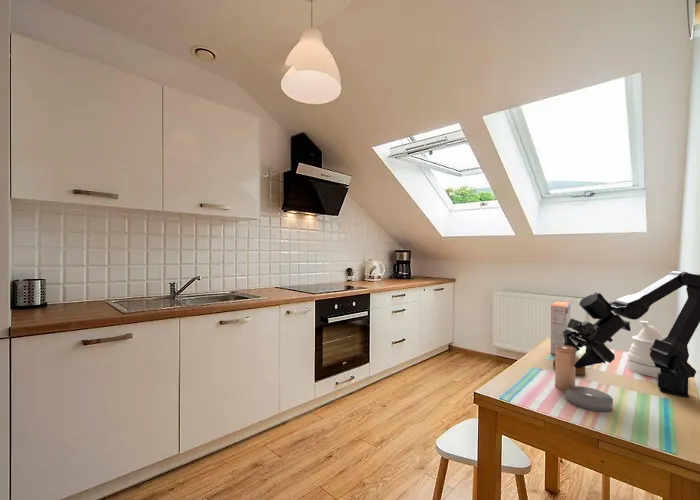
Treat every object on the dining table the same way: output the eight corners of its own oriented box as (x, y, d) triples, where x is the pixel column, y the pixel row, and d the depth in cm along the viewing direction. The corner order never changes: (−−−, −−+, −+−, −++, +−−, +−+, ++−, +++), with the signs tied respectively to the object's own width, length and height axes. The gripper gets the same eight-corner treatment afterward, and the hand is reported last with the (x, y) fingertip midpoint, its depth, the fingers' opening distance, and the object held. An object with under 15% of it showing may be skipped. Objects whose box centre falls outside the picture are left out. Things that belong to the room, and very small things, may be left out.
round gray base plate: (613, 401, 100) (613, 393, 100) (611, 416, 92) (612, 406, 91) (569, 391, 107) (569, 383, 107) (564, 403, 99) (564, 395, 98)
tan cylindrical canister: (576, 386, 110) (577, 347, 110) (574, 392, 106) (575, 351, 106) (555, 382, 114) (556, 343, 114) (552, 387, 109) (553, 347, 109)
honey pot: (623, 370, 126) (624, 321, 126) (630, 362, 134) (631, 317, 134) (671, 380, 116) (672, 328, 116) (675, 371, 125) (676, 323, 124)
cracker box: (554, 346, 155) (555, 300, 155) (570, 348, 151) (571, 302, 151) (549, 353, 144) (550, 304, 144) (566, 356, 140) (567, 306, 140)
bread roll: (586, 385, 120) (596, 365, 120) (560, 373, 120) (570, 353, 120) (569, 375, 130) (578, 356, 130) (544, 363, 130) (554, 344, 130)
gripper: (569, 305, 118) (535, 336, 119) (605, 317, 100) (565, 353, 101) (592, 329, 118) (558, 359, 119) (632, 345, 99) (592, 380, 100)
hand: (566, 361), depth 110 cm, fingers open, 9 cm apart
